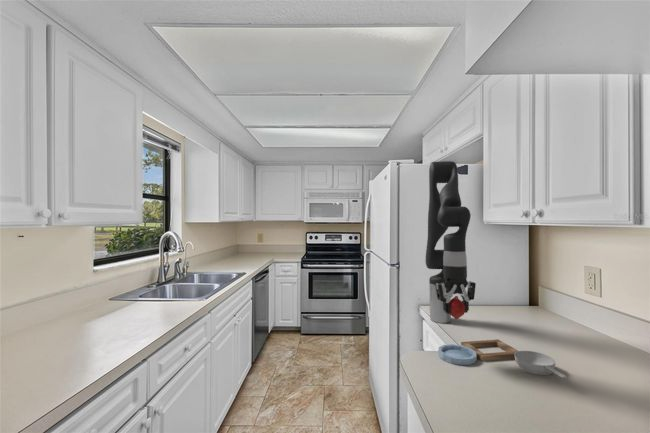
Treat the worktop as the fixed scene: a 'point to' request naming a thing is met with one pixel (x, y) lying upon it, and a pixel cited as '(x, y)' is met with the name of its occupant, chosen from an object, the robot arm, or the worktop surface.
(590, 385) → the worktop surface
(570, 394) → the worktop surface
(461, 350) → the dish
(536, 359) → the saucepan
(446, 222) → the robot arm
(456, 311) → the onion
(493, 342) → the frame
